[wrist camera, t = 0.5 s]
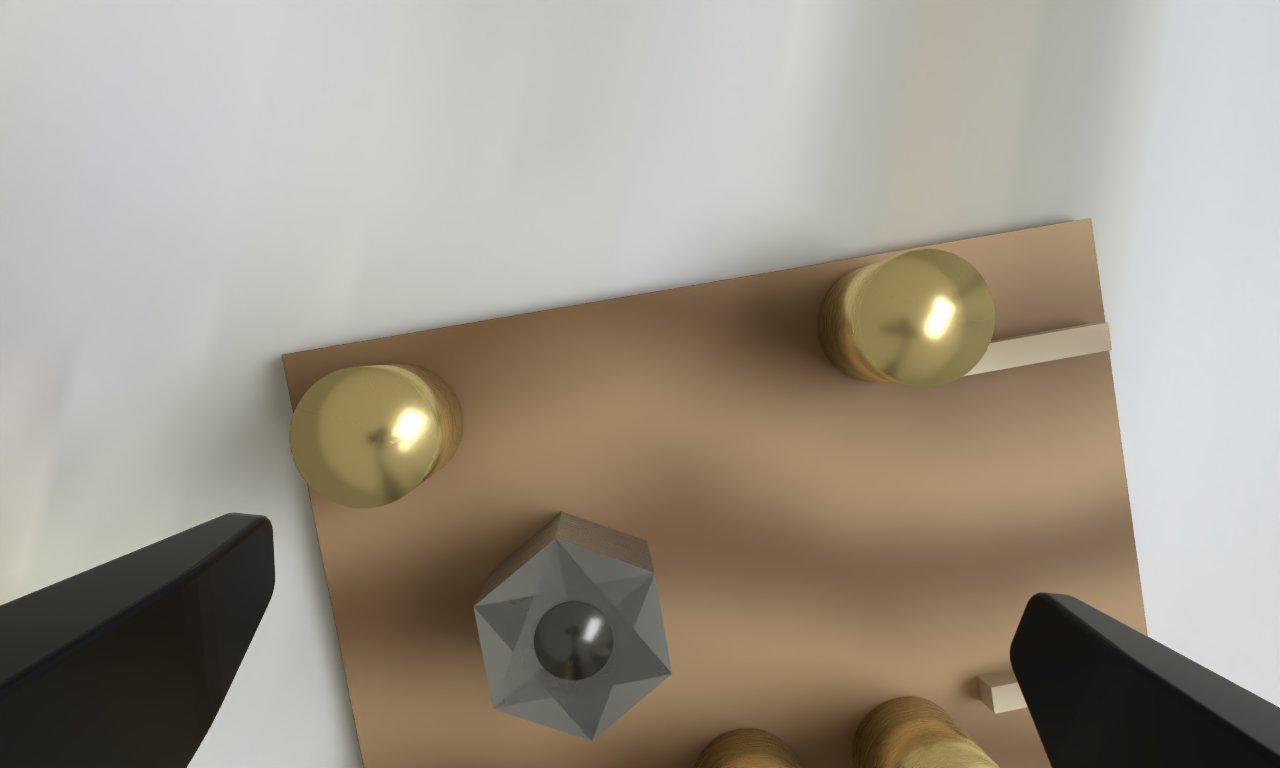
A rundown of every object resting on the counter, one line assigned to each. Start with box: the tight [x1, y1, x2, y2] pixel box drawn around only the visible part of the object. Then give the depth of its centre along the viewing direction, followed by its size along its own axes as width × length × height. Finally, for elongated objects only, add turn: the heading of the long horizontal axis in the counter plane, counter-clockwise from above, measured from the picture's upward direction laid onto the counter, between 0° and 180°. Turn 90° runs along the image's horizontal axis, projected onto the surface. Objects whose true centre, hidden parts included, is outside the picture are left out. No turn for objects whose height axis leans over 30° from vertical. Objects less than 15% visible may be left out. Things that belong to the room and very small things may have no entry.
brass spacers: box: [290, 249, 999, 768], centre depth 19 cm, size 16×17×4 cm
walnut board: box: [282, 218, 1148, 768], centre depth 21 cm, size 17×24×1 cm
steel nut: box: [474, 511, 672, 741], centre depth 19 cm, size 5×5×3 cm
